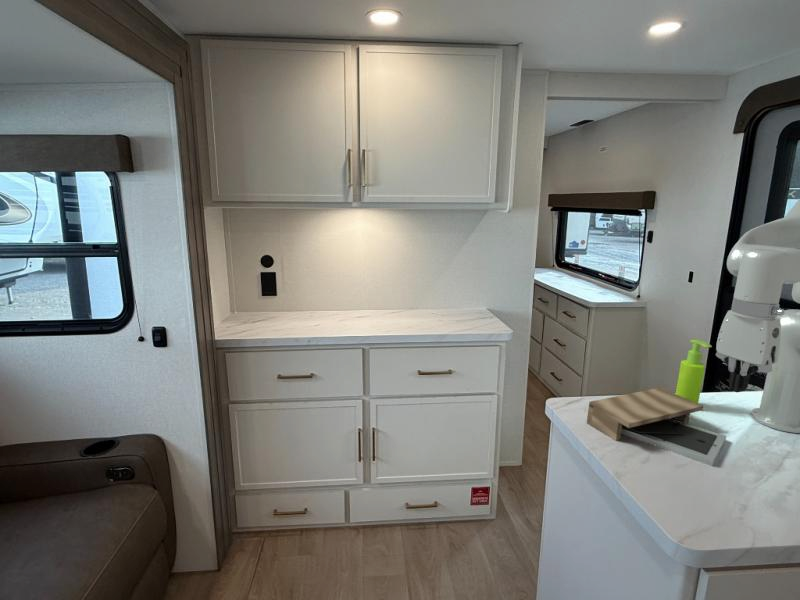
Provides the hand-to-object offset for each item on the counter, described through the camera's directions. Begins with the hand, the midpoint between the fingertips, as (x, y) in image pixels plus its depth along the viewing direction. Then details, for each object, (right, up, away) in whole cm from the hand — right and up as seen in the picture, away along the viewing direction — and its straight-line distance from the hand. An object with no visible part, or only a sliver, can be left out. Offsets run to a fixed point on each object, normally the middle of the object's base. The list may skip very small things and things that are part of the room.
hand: (736, 389), depth 99 cm
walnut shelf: (-9, -14, +22) cm, 27 cm away
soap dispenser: (+11, -12, +35) cm, 38 cm away
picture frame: (-4, -16, +17) cm, 24 cm away
